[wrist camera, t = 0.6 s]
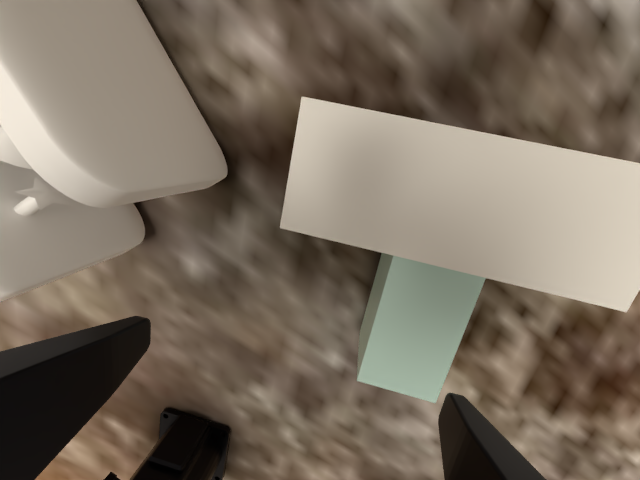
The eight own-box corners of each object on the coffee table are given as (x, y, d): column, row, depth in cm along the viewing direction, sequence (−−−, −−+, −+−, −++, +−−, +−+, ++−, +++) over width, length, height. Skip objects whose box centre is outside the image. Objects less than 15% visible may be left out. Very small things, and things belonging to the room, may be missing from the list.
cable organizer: (249, 185, 21) (111, 218, 10) (139, 248, 24) (-64, 330, 12) (124, -37, 18) (-250, -330, 7) (18, 62, 21) (-371, -40, 10)
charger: (421, 348, 22) (435, 403, 17) (359, 332, 22) (356, 380, 17) (471, 208, 19) (506, 226, 14) (398, 192, 19) (408, 204, 14)
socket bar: (548, 268, 19) (624, 316, 13) (304, 210, 21) (278, 231, 15) (593, 169, 17) (704, 176, 12) (322, 114, 19) (301, 96, 13)
